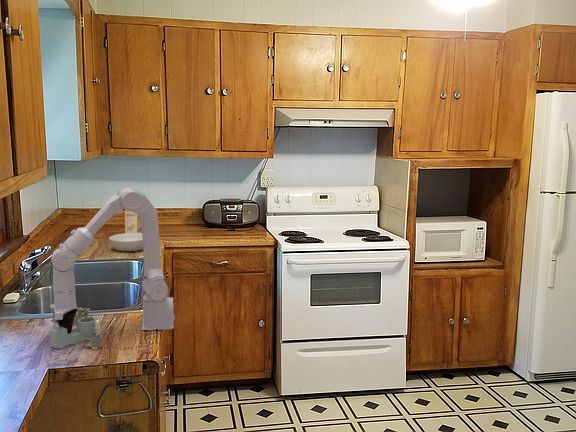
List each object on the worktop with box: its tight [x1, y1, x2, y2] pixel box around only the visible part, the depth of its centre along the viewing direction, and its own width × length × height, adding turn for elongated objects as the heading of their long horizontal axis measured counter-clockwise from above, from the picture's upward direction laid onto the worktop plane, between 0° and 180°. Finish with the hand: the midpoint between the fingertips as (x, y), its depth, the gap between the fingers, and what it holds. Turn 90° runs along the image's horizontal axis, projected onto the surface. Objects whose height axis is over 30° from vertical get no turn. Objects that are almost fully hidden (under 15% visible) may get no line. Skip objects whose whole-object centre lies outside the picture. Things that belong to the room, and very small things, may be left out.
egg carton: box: [50, 306, 91, 325], centre depth 172 cm, size 11×8×4 cm
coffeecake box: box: [124, 208, 142, 233], centre depth 297 cm, size 15×7×20 cm, turn 179°
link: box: [49, 316, 99, 349], centre depth 155 cm, size 13×5×5 cm, turn 141°
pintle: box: [94, 318, 102, 341], centre depth 155 cm, size 2×2×6 cm
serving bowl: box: [108, 233, 143, 252], centre depth 272 cm, size 21×21×7 cm
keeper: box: [81, 332, 101, 348], centre depth 150 cm, size 2×5×4 cm, turn 78°
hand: (66, 335), depth 157 cm, fingers closed
